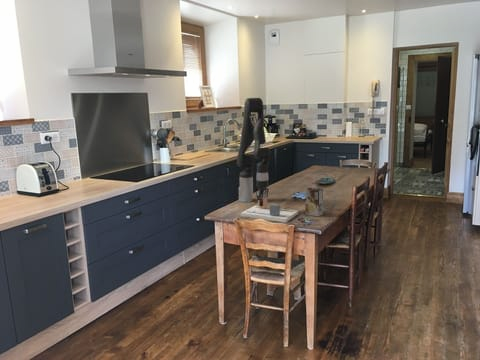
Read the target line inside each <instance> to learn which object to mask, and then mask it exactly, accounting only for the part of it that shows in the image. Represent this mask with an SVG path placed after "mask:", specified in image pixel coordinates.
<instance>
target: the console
mask: <svg viewBox="0 0 480 360" xmlns="http://www.w3.org/2000/svg"><path fill="white" fill-rule="evenodd" d="M299 213H300V212H299V210H296V209H287V208H282V207H280V215H278V216H275V215H270V206H267V207H266V208H259V207H258V204H257V205H253V206H252V207H250V208H248V209H246V210H244V211H242V212H241V213H240V217H247V218H251V219H252V218H253V219H260V220H268V221H273V222H275V221H276V222H280V223H281V222H282V223H287V222H289V221H291V220H292V219H293V218H295V217H296V216H297V215H299Z"/></svg>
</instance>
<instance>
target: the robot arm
mask: <svg viewBox="0 0 480 360" xmlns="http://www.w3.org/2000/svg"><path fill="white" fill-rule="evenodd" d="M243 108H244V109H243V121H242V127H241V133H240V143H239V148H238V151H237V158H236V165H237V167H239V168H245V170H243V171H241V172H240V173H239V187H238V201H239V202H242V203H249V202H250V203H251V202H253V201H254V178H253V177H254V176H253V175H254V158H255V159H256V160H262V161H260V162H258V163H257V164H256V187H257V188H258V191H256V192H255V195H256V199H257V201H258V200H259V206H261V207H262V206H263V197H264V198H268V196H269V190H270V189H269V188H268V187H269V163H270V160H271V156H272V155H271V153H272V152H271V149H270V148H269V147H261V145H264V144H266V142H267V141H266V139H267V138H266V133H265V127H264V124H265V123H264V120H265V118H264V116H265V115H264V101H263V99H262V98H260V97H248V98H246V99H245V101H244V107H243ZM254 113H257V120H256V123H255V125H254V124H253V122H252V119H251V114H254ZM253 143H254V148H253V154H252V153H246V152H247V150H248V149H249V148H250V147H251V145H252V144H253ZM261 197H262V198H261Z"/></svg>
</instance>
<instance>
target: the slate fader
mask: <svg viewBox="0 0 480 360" xmlns="http://www.w3.org/2000/svg"><path fill="white" fill-rule="evenodd" d="M269 207H270V215H275V216H278V215H280V208H281V205H280V204H277V203H271V204H270V205H269Z"/></svg>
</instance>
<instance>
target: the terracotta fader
mask: <svg viewBox="0 0 480 360" xmlns="http://www.w3.org/2000/svg"><path fill="white" fill-rule="evenodd" d="M261 198H262V197H261ZM257 206H258V207H259V208H266V207H268V197H266V198H264V197H263V206H262V207H261V206H259V200H257Z"/></svg>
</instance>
